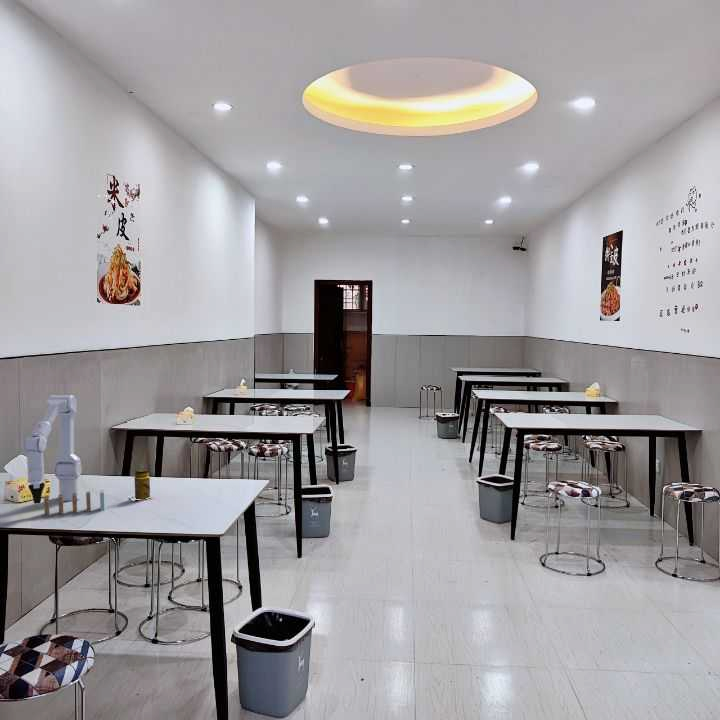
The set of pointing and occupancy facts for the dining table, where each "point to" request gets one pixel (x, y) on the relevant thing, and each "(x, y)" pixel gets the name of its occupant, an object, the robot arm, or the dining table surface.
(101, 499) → the domino
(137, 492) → the condiment
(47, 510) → the domino
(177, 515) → the dining table surface
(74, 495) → the domino
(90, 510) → the domino
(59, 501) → the domino
